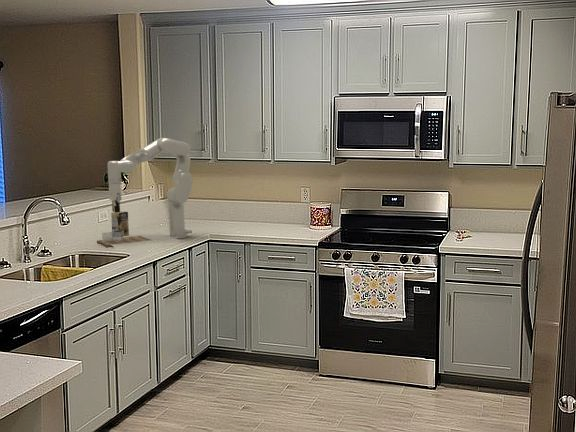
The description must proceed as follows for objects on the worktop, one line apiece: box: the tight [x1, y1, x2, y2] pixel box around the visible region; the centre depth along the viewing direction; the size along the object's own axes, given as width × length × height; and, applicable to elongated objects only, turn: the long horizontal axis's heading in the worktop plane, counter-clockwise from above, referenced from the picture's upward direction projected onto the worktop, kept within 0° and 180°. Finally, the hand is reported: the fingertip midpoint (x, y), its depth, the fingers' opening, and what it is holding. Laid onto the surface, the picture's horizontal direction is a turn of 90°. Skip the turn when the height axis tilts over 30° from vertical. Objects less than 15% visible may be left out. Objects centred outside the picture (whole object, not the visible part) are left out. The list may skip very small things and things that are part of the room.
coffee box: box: [111, 211, 130, 237], centre depth 464 cm, size 9×6×16 cm
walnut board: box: [96, 235, 152, 248], centre depth 445 cm, size 28×19×2 cm
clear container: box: [101, 228, 125, 243], centre depth 443 cm, size 13×13×6 cm
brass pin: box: [113, 201, 119, 217], centre depth 440 cm, size 3×3×10 cm
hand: (116, 211), depth 440 cm, fingers closed on brass pin, 3 cm apart
